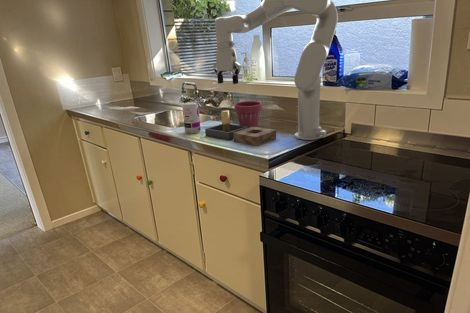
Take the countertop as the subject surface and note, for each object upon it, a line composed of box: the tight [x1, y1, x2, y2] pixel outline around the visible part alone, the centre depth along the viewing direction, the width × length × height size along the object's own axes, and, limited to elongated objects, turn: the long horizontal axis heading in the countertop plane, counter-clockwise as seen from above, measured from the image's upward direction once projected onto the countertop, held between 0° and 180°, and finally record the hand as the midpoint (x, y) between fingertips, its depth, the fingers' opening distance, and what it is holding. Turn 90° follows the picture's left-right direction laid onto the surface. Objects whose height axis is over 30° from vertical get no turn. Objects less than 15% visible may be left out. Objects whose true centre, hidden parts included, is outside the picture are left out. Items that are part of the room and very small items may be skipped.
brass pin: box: [220, 109, 231, 132], centre depth 170 cm, size 4×4×11 cm
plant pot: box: [234, 100, 263, 128], centre depth 182 cm, size 14×14×13 cm
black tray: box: [204, 123, 248, 141], centre depth 172 cm, size 16×14×4 cm
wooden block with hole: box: [232, 126, 277, 147], centre depth 160 cm, size 14×14×4 cm
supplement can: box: [181, 101, 201, 134], centre depth 180 cm, size 8×8×15 cm
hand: (228, 83), depth 166 cm, fingers open, 9 cm apart
